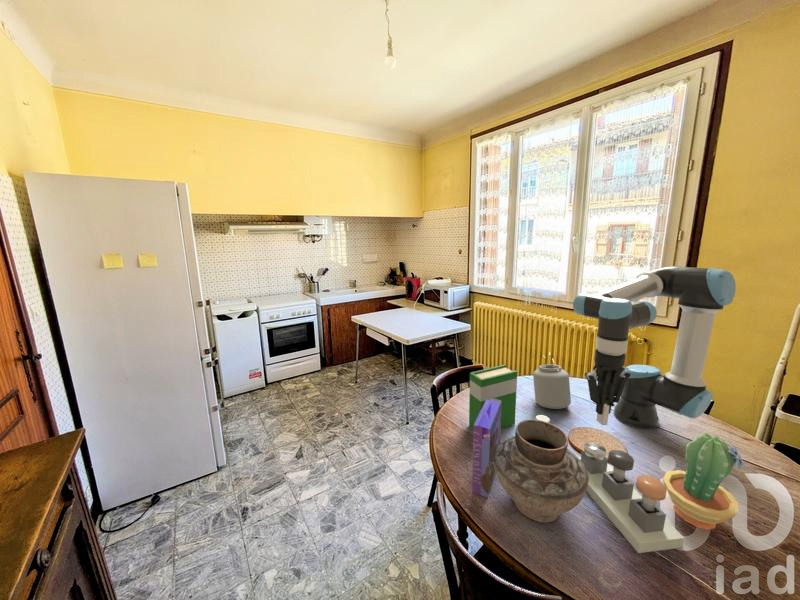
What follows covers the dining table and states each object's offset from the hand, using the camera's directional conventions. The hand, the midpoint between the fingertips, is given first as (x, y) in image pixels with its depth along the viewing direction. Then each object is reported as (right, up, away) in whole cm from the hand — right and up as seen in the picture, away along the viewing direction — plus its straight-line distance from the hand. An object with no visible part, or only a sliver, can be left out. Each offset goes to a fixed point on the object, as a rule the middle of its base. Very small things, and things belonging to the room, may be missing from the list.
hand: (601, 422), depth 97 cm
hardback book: (-24, -15, +35) cm, 44 cm away
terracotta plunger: (+2, -16, -15) cm, 22 cm away
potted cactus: (+20, -23, -9) cm, 32 cm away
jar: (+7, -11, +49) cm, 50 cm away
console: (+2, -22, -4) cm, 22 cm away
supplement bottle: (-10, -18, +19) cm, 28 cm away
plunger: (+1, -17, +5) cm, 17 cm away
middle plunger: (+1, -14, -5) cm, 15 cm away
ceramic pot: (-22, -23, -4) cm, 32 cm away
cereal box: (-34, -21, +7) cm, 40 cm away
